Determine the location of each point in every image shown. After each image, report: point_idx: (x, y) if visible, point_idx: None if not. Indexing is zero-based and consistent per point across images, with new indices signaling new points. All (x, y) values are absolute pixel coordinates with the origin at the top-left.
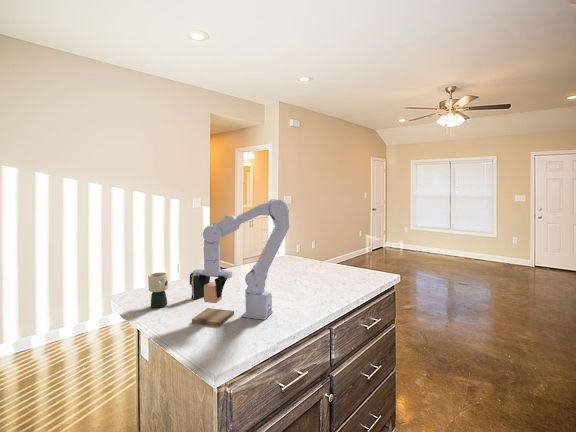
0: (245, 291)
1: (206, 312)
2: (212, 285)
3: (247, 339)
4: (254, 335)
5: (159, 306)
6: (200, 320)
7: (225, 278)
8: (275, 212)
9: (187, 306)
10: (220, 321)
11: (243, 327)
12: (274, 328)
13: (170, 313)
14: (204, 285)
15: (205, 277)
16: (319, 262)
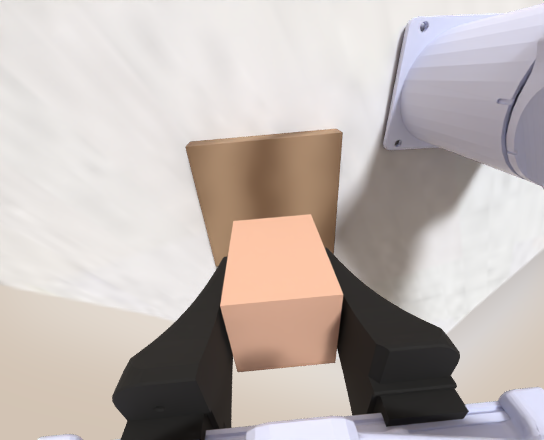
0: (511, 157)
1: (222, 198)
2: (299, 353)
3: (439, 281)
4: (457, 258)
5: None
6: None
7: (443, 381)
8: None
9: (17, 109)
10: (330, 247)
11: (413, 226)
12: (529, 198)
13: (52, 216)
14: (238, 368)
15: (220, 427)
16: None
